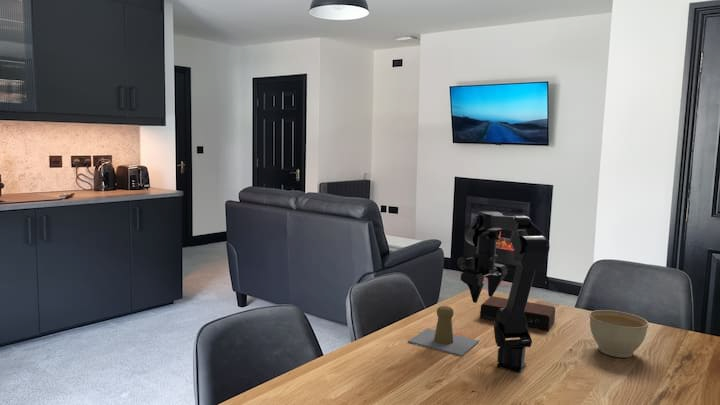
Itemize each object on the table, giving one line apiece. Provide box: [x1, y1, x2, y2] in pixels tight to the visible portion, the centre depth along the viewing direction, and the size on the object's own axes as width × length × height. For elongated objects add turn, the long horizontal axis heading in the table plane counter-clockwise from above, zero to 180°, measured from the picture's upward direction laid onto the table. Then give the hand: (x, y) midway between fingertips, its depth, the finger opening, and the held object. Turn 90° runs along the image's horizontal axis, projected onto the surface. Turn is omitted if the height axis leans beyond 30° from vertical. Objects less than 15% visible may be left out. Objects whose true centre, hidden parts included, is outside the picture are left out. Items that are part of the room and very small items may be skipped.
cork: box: [434, 305, 455, 345], centre depth 164 cm, size 6×6×11 cm
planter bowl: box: [589, 309, 649, 358], centre depth 161 cm, size 16×16×11 cm
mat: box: [407, 328, 480, 357], centre depth 165 cm, size 18×14×1 cm
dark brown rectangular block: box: [479, 295, 556, 332], centre depth 188 cm, size 24×12×6 cm, turn 61°
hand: (482, 299), depth 166 cm, fingers open, 9 cm apart
